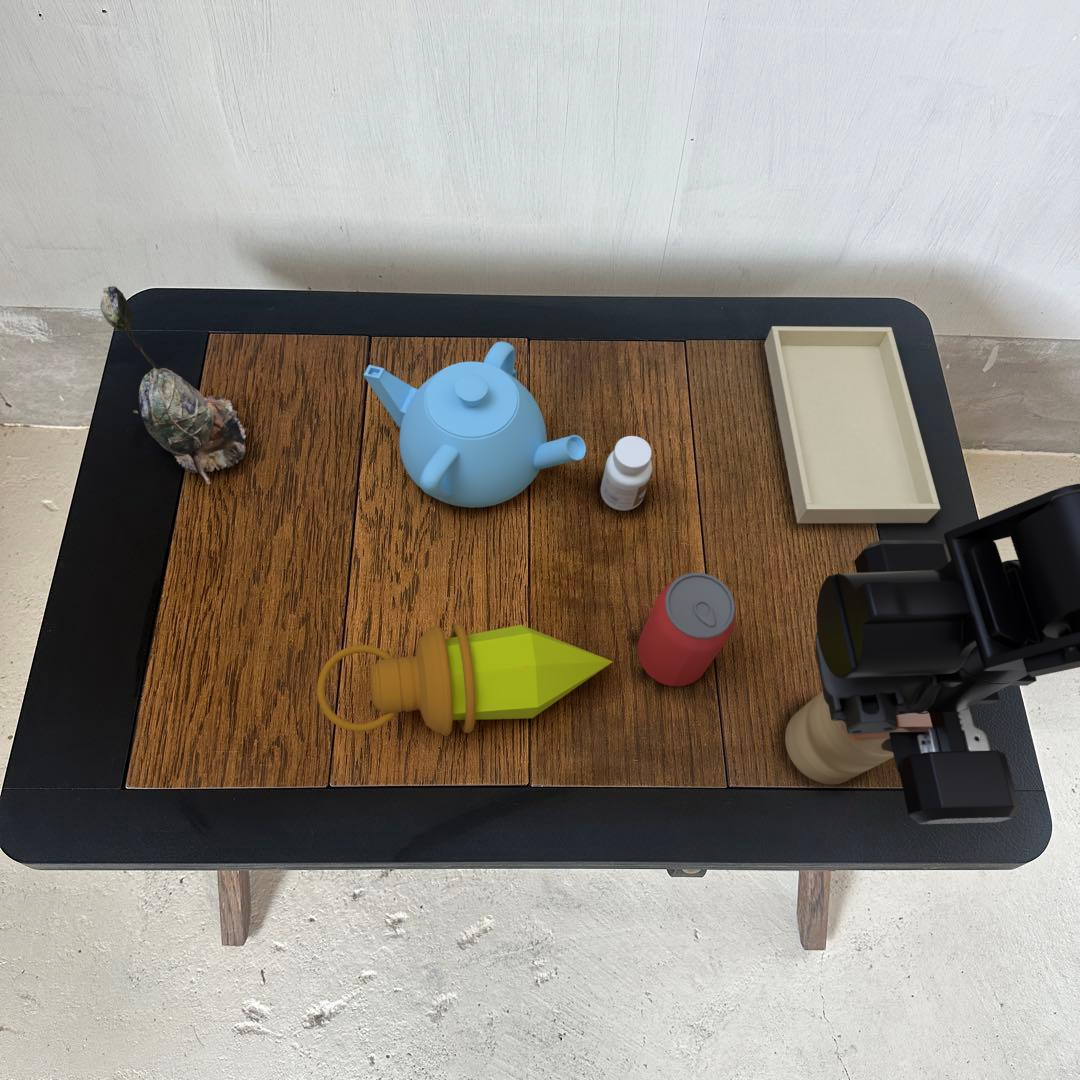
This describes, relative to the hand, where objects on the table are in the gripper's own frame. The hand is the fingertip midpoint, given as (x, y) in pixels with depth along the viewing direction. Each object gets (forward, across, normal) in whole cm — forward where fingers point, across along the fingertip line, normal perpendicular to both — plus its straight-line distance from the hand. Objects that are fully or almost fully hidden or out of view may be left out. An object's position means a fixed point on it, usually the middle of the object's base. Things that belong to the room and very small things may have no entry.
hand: (879, 707), depth 64 cm
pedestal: (+12, 0, 0) cm, 12 cm away
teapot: (+12, -30, -30) cm, 44 cm away
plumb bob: (+12, -5, -31) cm, 33 cm away
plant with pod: (+12, -31, -57) cm, 66 cm away
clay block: (0, 0, 0) cm, 0 cm away
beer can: (+12, -8, -13) cm, 19 cm away
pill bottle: (+12, -25, -16) cm, 32 cm away
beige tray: (+12, -33, +8) cm, 36 cm away
